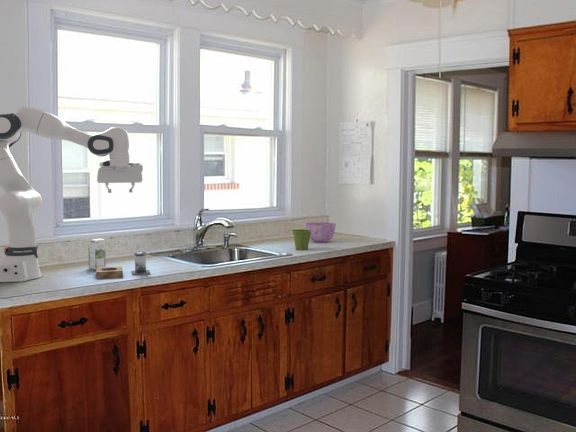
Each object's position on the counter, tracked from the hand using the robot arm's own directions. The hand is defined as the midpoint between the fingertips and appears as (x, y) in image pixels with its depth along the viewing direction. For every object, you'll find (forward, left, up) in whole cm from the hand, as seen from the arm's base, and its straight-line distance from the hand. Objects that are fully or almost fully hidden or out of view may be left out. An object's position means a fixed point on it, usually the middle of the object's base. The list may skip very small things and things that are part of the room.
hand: (120, 192), depth 272 cm
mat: (+8, -7, -37) cm, 39 cm away
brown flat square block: (-6, -9, -37) cm, 39 cm away
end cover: (+8, -7, -36) cm, 38 cm away
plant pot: (+104, +39, -37) cm, 117 cm away
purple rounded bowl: (+127, +67, -37) cm, 148 cm away
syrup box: (-11, +11, -37) cm, 40 cm away
